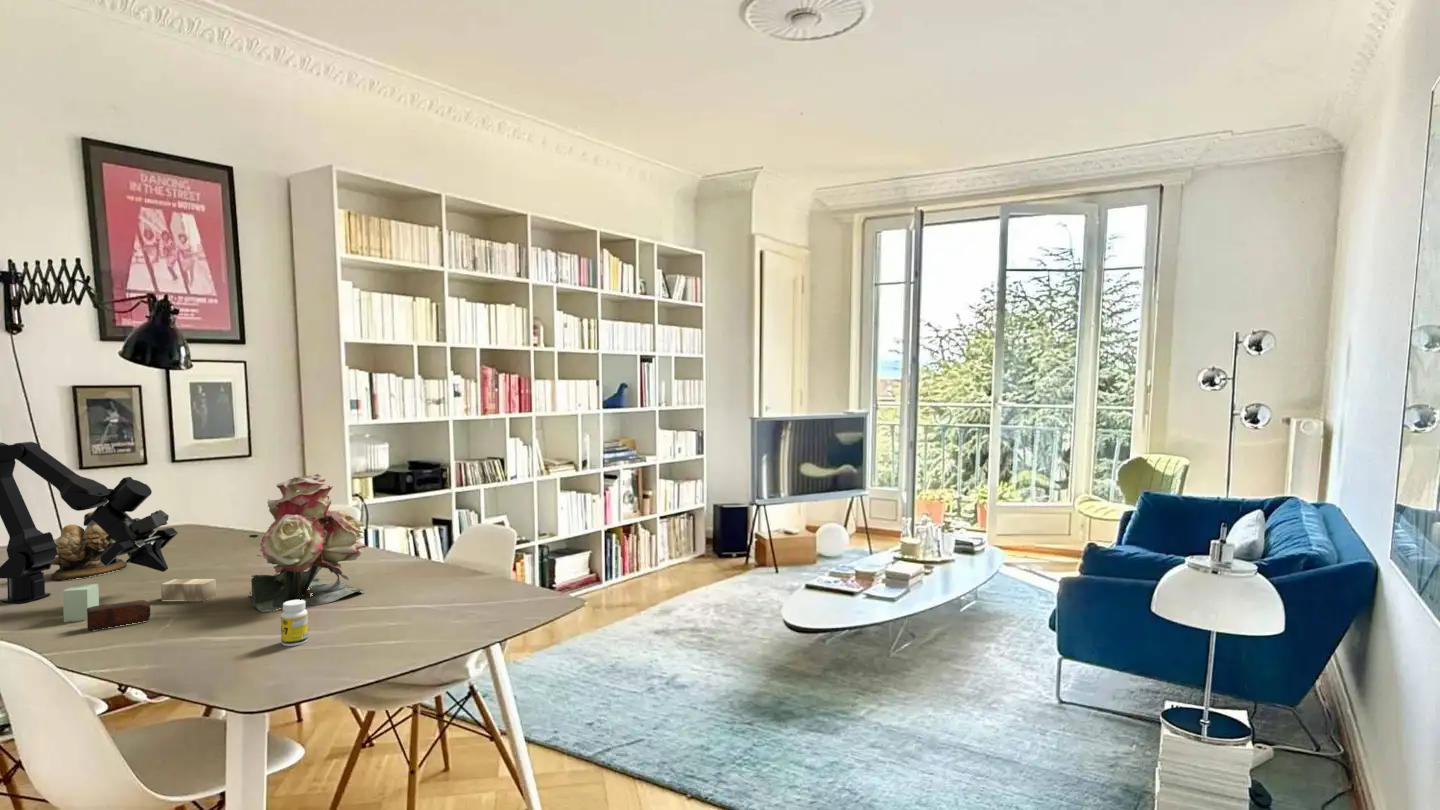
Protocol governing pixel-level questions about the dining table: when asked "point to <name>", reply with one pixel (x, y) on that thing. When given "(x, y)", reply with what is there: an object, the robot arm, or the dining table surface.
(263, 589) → the rose bouquet
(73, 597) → the sage block
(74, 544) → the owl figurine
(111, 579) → the dining table surface
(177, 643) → the dining table surface
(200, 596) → the maple block
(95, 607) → the brick
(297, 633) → the supplement bottle
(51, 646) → the dining table surface
